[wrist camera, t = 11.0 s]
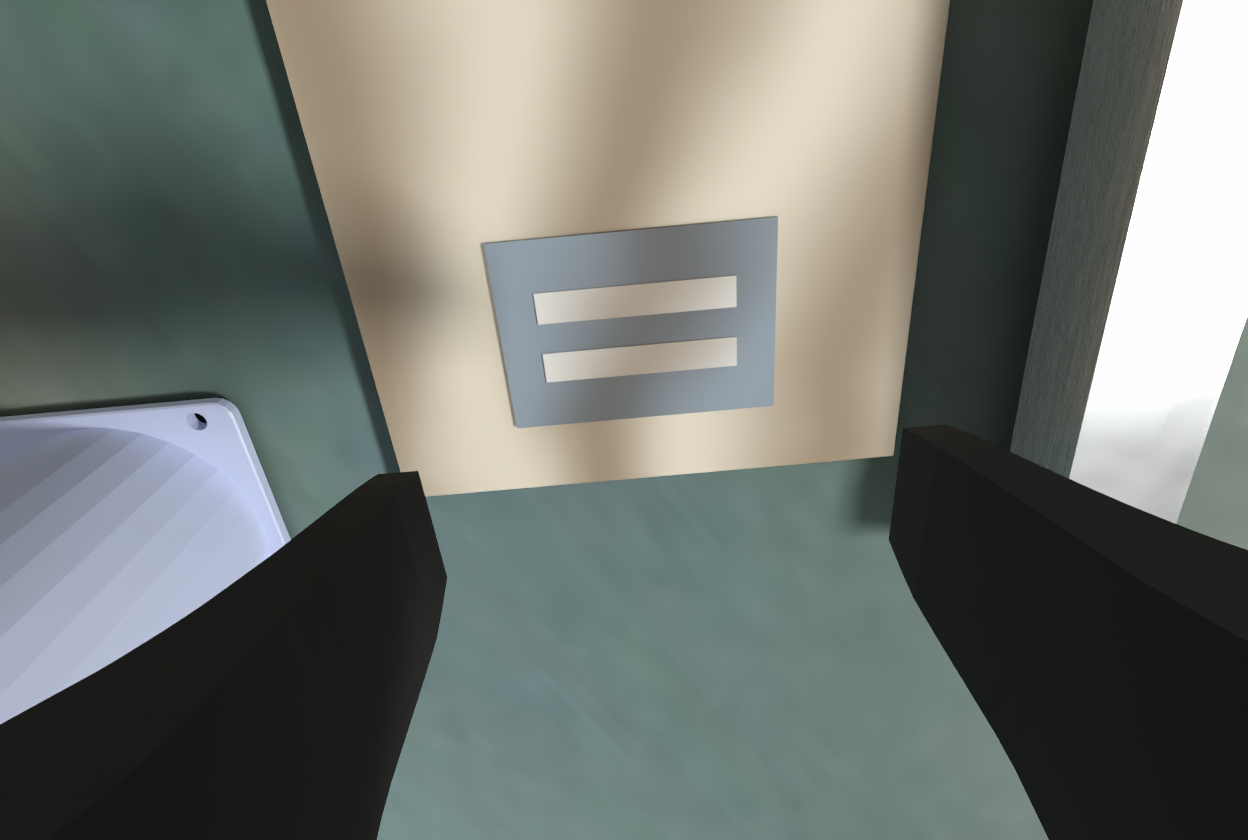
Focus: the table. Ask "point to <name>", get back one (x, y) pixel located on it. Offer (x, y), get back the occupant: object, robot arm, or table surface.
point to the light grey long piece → (1143, 253)
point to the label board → (623, 224)
